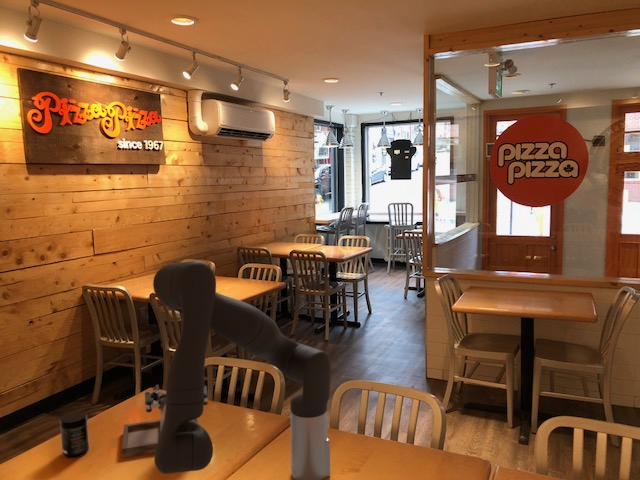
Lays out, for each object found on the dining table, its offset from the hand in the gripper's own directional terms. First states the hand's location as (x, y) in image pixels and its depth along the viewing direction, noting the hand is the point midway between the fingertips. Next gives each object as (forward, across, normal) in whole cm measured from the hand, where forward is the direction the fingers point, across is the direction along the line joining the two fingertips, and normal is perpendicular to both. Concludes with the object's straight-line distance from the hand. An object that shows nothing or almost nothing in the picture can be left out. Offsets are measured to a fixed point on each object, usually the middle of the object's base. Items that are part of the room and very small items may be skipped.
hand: (175, 386), depth 130 cm
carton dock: (+21, +8, +24) cm, 33 cm away
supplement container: (+21, +26, +24) cm, 42 cm away
